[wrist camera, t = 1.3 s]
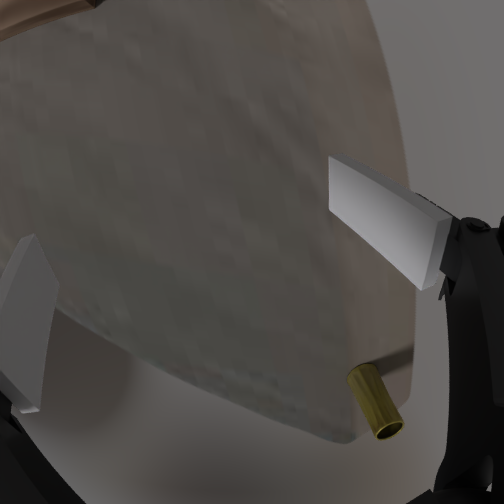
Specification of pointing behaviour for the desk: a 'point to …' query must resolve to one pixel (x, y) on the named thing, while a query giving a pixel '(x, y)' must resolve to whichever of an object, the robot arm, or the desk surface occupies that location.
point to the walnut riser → (36, 13)
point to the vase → (375, 401)
